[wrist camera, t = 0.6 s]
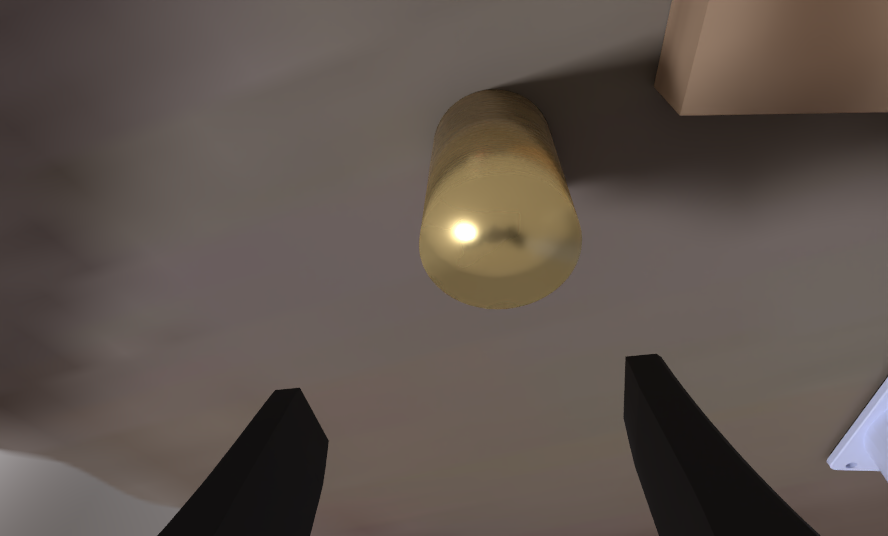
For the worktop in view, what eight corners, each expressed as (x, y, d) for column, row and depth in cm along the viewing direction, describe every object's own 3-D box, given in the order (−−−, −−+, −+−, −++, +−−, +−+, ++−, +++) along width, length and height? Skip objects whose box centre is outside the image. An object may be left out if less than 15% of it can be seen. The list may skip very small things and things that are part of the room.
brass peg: (556, 88, 16) (592, 174, 11) (545, 199, 18) (571, 309, 14) (430, 90, 16) (413, 176, 11) (435, 200, 19) (423, 308, 14)
